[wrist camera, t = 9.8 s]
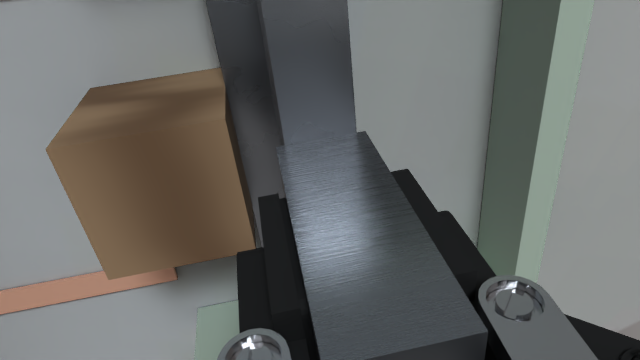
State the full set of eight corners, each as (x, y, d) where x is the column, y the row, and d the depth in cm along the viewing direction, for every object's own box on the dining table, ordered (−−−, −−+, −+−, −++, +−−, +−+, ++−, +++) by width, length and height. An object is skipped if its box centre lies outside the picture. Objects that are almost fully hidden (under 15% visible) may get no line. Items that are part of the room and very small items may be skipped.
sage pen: (203, 324, 24) (200, 383, 21) (20, -201, 13) (-42, -233, 10) (495, 263, 26) (531, 310, 23) (565, -252, 14) (654, -293, 11)
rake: (267, 258, 22) (310, 608, 11) (195, -68, 15) (110, 23, 4) (343, 243, 22) (456, 568, 12) (309, -84, 15) (538, -40, 4)
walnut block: (133, 198, 20) (108, 280, 15) (90, 88, 17) (45, 149, 13) (250, 177, 20) (256, 251, 16) (225, 66, 17) (225, 119, 13)
